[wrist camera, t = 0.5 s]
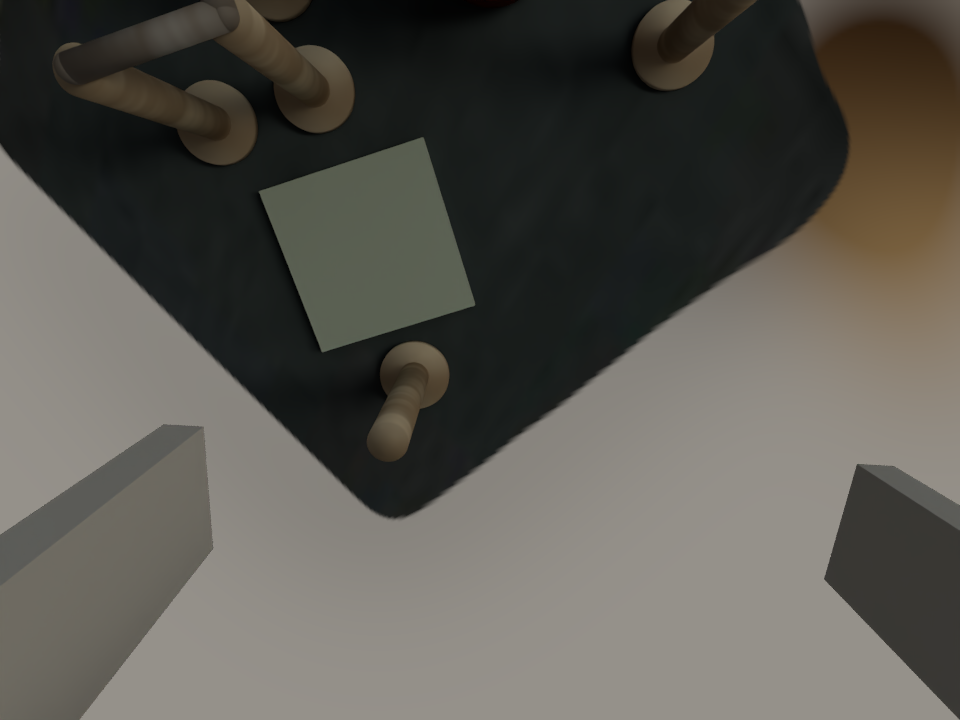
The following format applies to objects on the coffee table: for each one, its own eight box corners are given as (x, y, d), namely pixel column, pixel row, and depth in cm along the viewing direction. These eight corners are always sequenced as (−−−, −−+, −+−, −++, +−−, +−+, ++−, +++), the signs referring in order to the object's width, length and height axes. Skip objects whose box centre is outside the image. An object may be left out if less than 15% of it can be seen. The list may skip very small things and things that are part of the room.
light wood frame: (119, -19, 31) (-126, -185, 18) (298, -85, 30) (170, -305, 17) (200, 175, 33) (36, 146, 21) (366, 119, 33) (298, 55, 20)
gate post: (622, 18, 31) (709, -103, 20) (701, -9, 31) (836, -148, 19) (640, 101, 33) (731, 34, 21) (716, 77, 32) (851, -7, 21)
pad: (262, 191, 34) (258, 191, 33) (423, 138, 33) (423, 137, 32) (324, 350, 36) (322, 352, 36) (475, 304, 36) (475, 305, 35)
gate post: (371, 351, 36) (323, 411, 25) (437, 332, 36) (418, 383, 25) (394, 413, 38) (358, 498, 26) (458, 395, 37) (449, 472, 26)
